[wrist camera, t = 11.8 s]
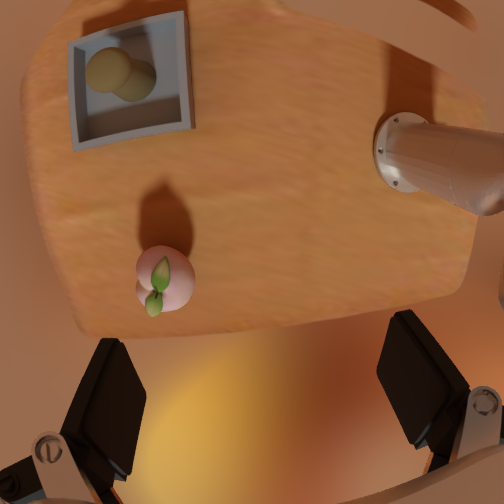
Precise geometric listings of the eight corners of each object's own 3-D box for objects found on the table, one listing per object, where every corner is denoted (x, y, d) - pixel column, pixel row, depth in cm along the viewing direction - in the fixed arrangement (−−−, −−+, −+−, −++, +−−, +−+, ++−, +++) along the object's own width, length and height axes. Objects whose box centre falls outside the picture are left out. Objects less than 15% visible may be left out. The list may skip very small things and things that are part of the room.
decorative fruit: (195, 293, 45) (188, 333, 36) (145, 284, 44) (127, 322, 35) (202, 238, 42) (194, 270, 32) (147, 229, 40) (126, 259, 31)
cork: (106, 84, 30) (66, 74, 20) (138, 52, 29) (106, 29, 19) (133, 111, 32) (98, 107, 22) (165, 78, 31) (141, 61, 21)
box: (188, 21, 29) (183, 10, 24) (195, 128, 35) (190, 128, 31) (82, 48, 28) (68, 42, 24) (88, 148, 35) (73, 152, 31)
